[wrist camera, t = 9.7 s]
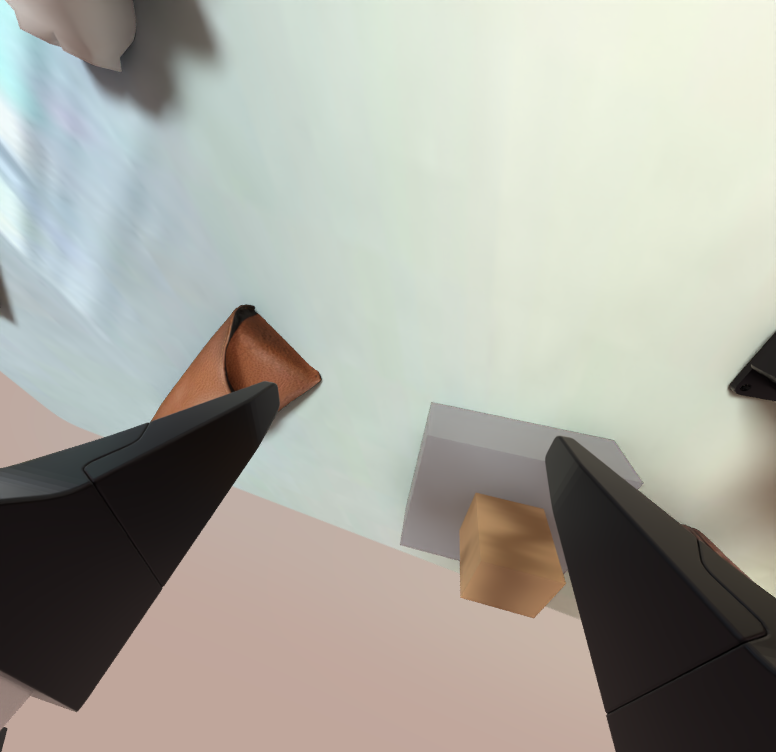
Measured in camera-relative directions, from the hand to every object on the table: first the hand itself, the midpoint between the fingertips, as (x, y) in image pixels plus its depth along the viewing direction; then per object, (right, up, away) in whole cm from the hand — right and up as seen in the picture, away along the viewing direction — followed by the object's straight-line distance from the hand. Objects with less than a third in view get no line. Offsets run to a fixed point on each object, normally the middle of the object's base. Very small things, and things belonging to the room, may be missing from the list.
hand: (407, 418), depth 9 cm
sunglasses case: (-15, 0, +19) cm, 24 cm away
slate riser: (+9, -8, +17) cm, 21 cm away
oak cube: (+8, -10, +14) cm, 19 cm away
